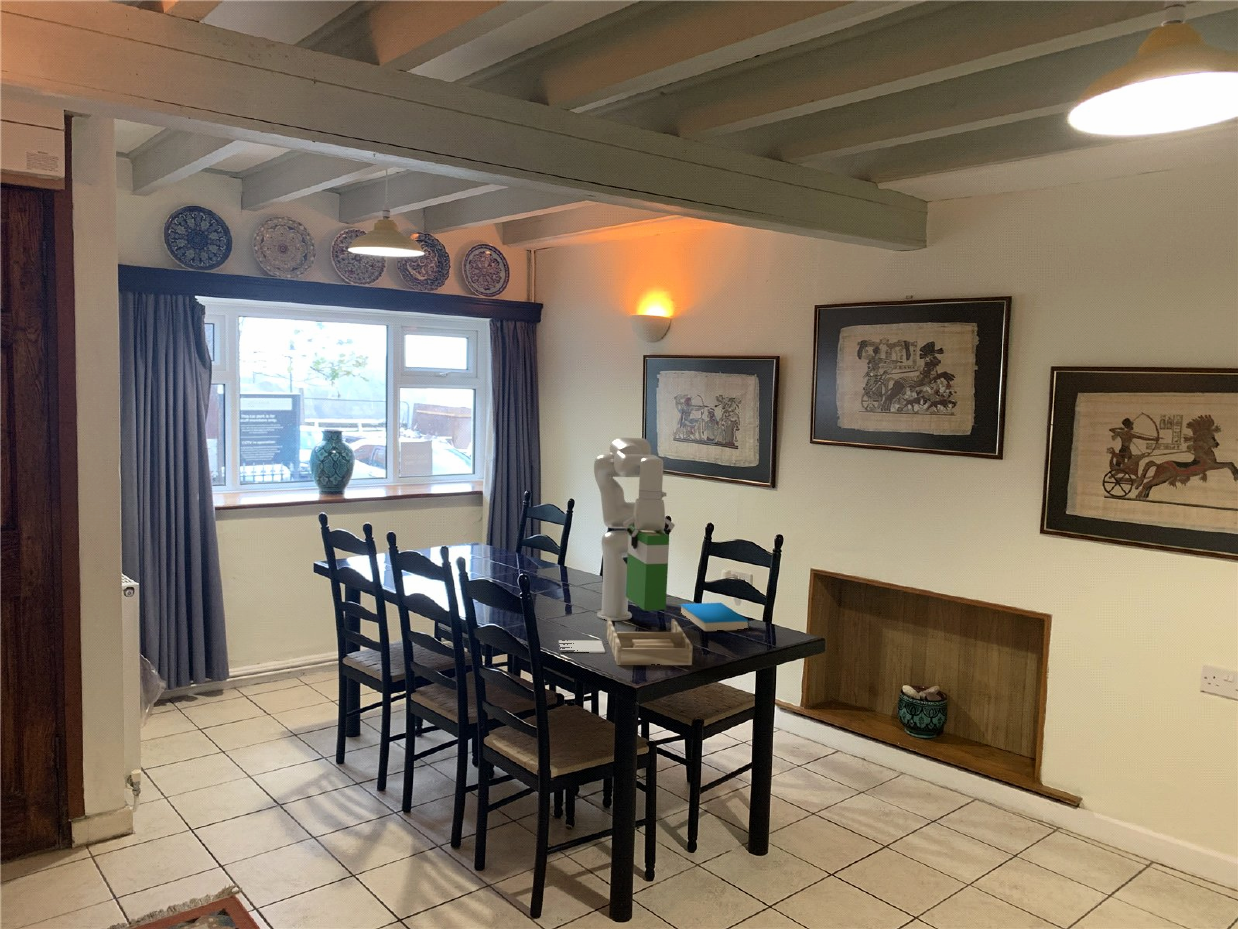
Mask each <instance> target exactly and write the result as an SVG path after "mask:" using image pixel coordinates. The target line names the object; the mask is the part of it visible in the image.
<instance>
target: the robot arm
mask: <svg viewBox="0 0 1238 929" xmlns="http://www.w3.org/2000/svg"><path fill="white" fill-rule="evenodd" d="M651 448H652V447H651V444H650V443H649V441H648V440H647V439H646V438H644V437H619V438H615V439H614V440H613V441H612V442H611V443H610V446H609V453H605V454H600V455H598V456H596V458H595V460H594V463H593V472H594V473H593V474H594V478H595V481H596V484H597V486H598V488H599V492H600V498H601V507H602V508H601V510H602V511H601V512H602V518H603V523H604V526H606V527H607V528H609V529H625V530H611V531H607V532H605V533H604V534H603V536H602V537H601V551H602V590H601V592H602V594H601V595H602V597H601V610H599V611H597V614H596V616H597V617H598V619H602V620H604V619H605V621H607V619H611V622H613V621H615V622H616V621H617V622H618V621H627V620H628V621H629V620H630V619H631V618H632V616H633V615H632V614H633V613H631V612H630V611H628V609H629V608H628V606H629V599H628V598H627V597H626V582H627V563H626V562H625V561H624V558H628V537H629V534H630V535H631V546H633V548H634V549H636V542H637V537H636V534H637V533H638V531H639V530H644V531H660V532H663V533H665V534H667V535H670V534H671V532H672V530H673V529H674V528H675V526H676V524H675V523H673V522H672V521H670V520H669V519H667V517H666V510H665V509H666V508H665V502H664V499H663V498H664V497H667V492H665V491H663V481H664V480H663V479H664V478H663V477H664V460H663V459H662V458H659V457H658V456H657V455H655V454H651V453H652V450H651ZM615 478H639V479H638V480H639V482H638V483H639V484H638V498H636V499H635V502H628V501H626V500H625V494H624V493H625V492H624V489H623V487H622V486H621V484H620V483H619V481H617V480H616V479H615ZM666 525H668V527H667V529H666V530H665V528H666V527H665V526H666ZM629 526H632V527H634V529H633V530H631V529H630V528H629Z"/></svg>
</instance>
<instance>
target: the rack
mask: <svg viewBox="0 0 1238 929" xmlns="http://www.w3.org/2000/svg"><path fill="white" fill-rule="evenodd" d="M670 625H671V626H670V631H617V632H616V629H615V627H614V624H613V621H611V619H607V620H606V638H607V641H608V645H609V646H610V649H611V651H612V656H613V658H614V657H615V658H614V660H615V663H616V665H617V666H652V665H651V664H655V665H654V666H658V665H657V664H660V665H659V666H692V665H693V664H692V663H693V647H694V646H693V643H691V641H690V640H689V638H688V637H687V635H686V634H685V633H684V631H683V629H682V628H681V626H680V625H679V623H678V622H677V620H676V619H675V618H671V624H670ZM643 639H670V640H671V642H672V643H673V644H674V648H632V640H643Z"/></svg>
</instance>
